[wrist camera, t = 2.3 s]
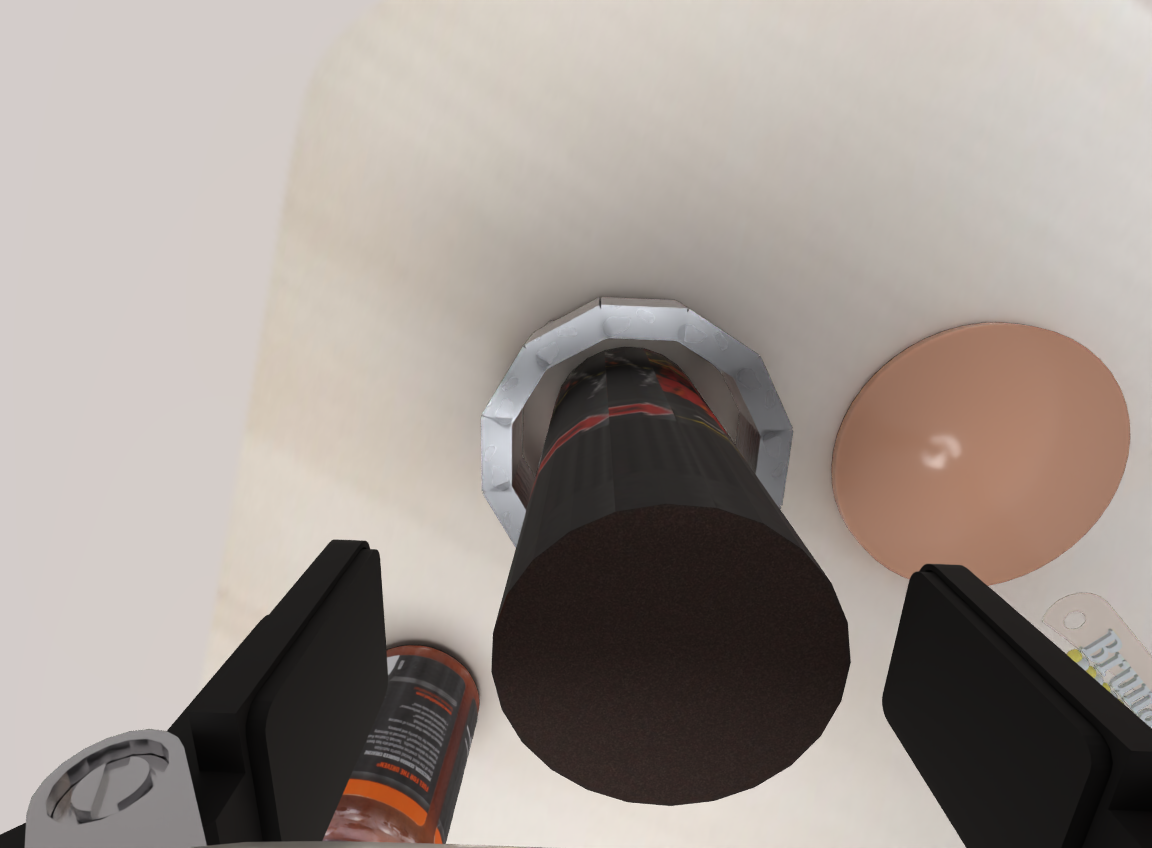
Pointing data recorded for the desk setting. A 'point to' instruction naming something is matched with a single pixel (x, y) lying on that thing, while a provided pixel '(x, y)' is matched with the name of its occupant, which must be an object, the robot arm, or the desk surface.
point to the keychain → (1106, 648)
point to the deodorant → (661, 600)
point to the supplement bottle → (411, 753)
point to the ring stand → (628, 318)
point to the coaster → (981, 451)
